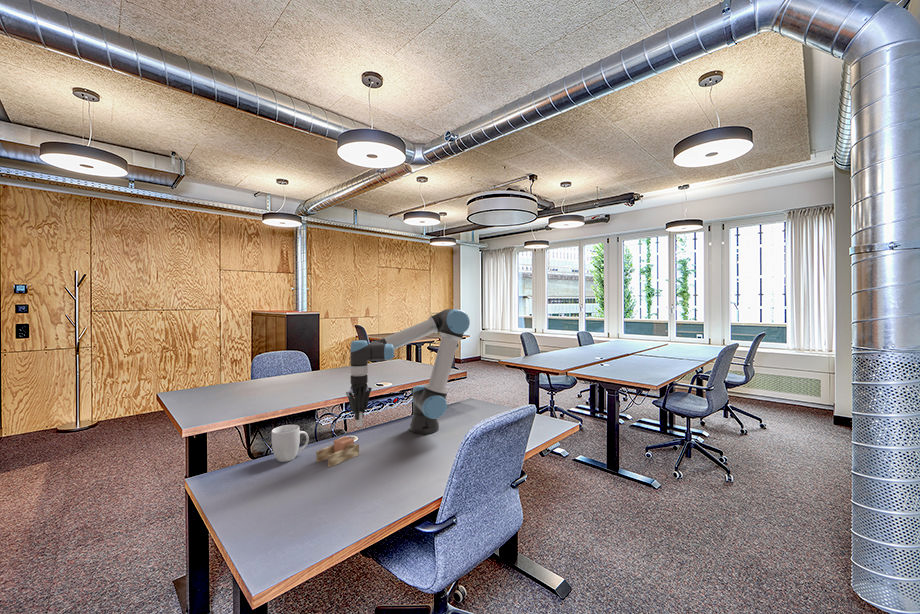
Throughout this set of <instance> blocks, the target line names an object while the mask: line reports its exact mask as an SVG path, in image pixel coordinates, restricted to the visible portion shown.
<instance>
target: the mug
mask: <svg viewBox="0 0 920 614" xmlns="http://www.w3.org/2000/svg"><path fill="white" fill-rule="evenodd" d="M300 429H301V428H300V425H298V424H285V425H280V426H278V427H274V428H273V429H272V430H271V448H272V452H273V456H274V457H275V458H276V460H277V461H278V462H280V463H285V462H290V461H293V460H294V459H295V458H296V457H297V454H298V452H301V451H303V449H305V448H306V447H307V446H308V445H309V441H310V440H309V439H310V437H309V435H308V433H307V432H306V431H303V430H300ZM302 434H303V435H305V439H306V440H305V443H304V444H303V445H302V447H300V441H301V440H300V439H301V437H300V436H301V435H302Z"/></svg>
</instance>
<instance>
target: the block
mask: <svg viewBox="0 0 920 614" xmlns="http://www.w3.org/2000/svg"><path fill="white" fill-rule="evenodd" d="M351 443H352V444H354V445H355V439H354V438H351V437H348V436H345V435H344V436H343V437H340V438H337V439H334V440H333V445H334V453H336V452H338V451H341V450H343V449H346V445H349V444H351Z"/></svg>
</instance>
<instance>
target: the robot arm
mask: <svg viewBox="0 0 920 614" xmlns="http://www.w3.org/2000/svg"><path fill="white" fill-rule="evenodd" d="M470 322H471V321H470V317H469V315H468V314H467V313H466V312H465V311H464V310H461V309H458V308H454V309H452V308H447V309H443V310H441V311H439V312H437V313H435V314H434V315H431V316H429V317H428V319H426V320H424V321H421V322H419V323H416V324H414V325H411V326H410V327H408V328H405V329H402V330H400V331H397V332H395V333H392V334H390V335H388V336H385V337H383V338H380V339H378V340H373V341H371V342H370V343H368V341H367V340H364V339H363V340H360V339H359V340H357V339H356V340H353V341H351V343H350V353H349V354H350V358H349V359H350V389H349V391H346V393H345V395H346V396H347V400H348V403H349V407H350V409H349V410H350V412H352V413H354V420H355V426H356V427H358V428H362V427H363V425H364V424H363V419H364V415H365V412H366V410H367V409H368V407H369V399H370V393H371V392H372V387H369V386H368V382H369V379H368V368H369V367H368V366H369V364H368V362H375V361H390V360H393V359H394V357H395V350H397V349H399V348H402V347H404V346H406V345H409V344H411V343H413V342H416V341H418V340H421V339H422V338H423V339H424V338H425V337H427V336H431V335H432V334H435V335H436V334H437V335H438V334H440V336H441V338H440V342H439V345H438V349H437V351H436V352H437V353H436V355H435V359H434V363H433V367H432V371H431V374H430V376H429V377H430V378H429V381H428V383H427V384H419V385H415V386H413V387H412V393H411V394H412V417H411V421H410V425H409V431H410V432H411V433H413V434H418V435H419V434H420V435H425V434H428V435H429V434H433V433H435V432H437V431H439V430H440V423H439V422H438V419H439V418H441V417H442V416H444V415H445V413H446V412H447V409H448V403H447V400H446V399H447V396H448V391H447V388H446V387H447V384H448V380H449V377H450V373H451V369H452V366H453V362H454V358H455V355H456V351H457V348H458V344H459V342H460V341H462V340H463V338H464V334H465V332H467V331H468V330H469V327H470Z"/></svg>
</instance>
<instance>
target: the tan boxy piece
mask: <svg viewBox="0 0 920 614" xmlns="http://www.w3.org/2000/svg"><path fill="white" fill-rule="evenodd" d="M359 455H360V444H359V443H356V444H355V443H354V444H352V443H351V444H349V445H346V449H343V450H341V451H338V452H336V453H334V444H332V445H329V446H327V447H324V448H321V449H319V450H316V451H315V457H316V459H315V461H316V463H320V462H323V461H325V460H327V468H331V467H334V466H336V465H338V464H341V463H343V462H346V461H348V460H350V459H353V458H354V457H358V456H359Z"/></svg>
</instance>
